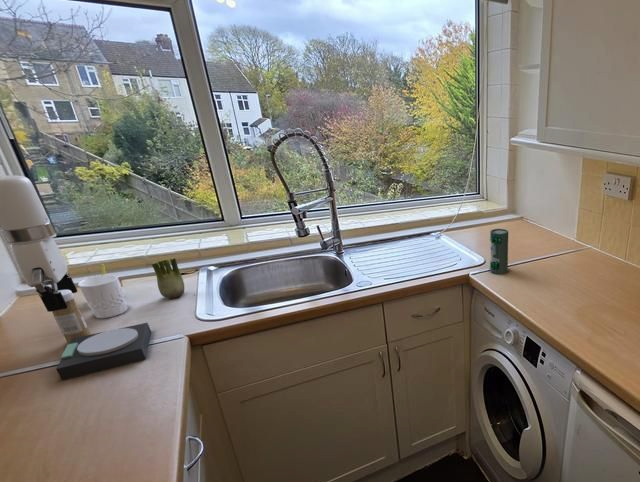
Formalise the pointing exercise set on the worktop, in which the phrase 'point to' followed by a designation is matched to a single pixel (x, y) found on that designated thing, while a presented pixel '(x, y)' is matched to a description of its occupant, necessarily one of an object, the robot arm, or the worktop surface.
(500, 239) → the can
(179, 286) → the fennel bulb
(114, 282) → the white cup
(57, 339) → the worktop surface
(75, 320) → the sprinkles bottle
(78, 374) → the scale
